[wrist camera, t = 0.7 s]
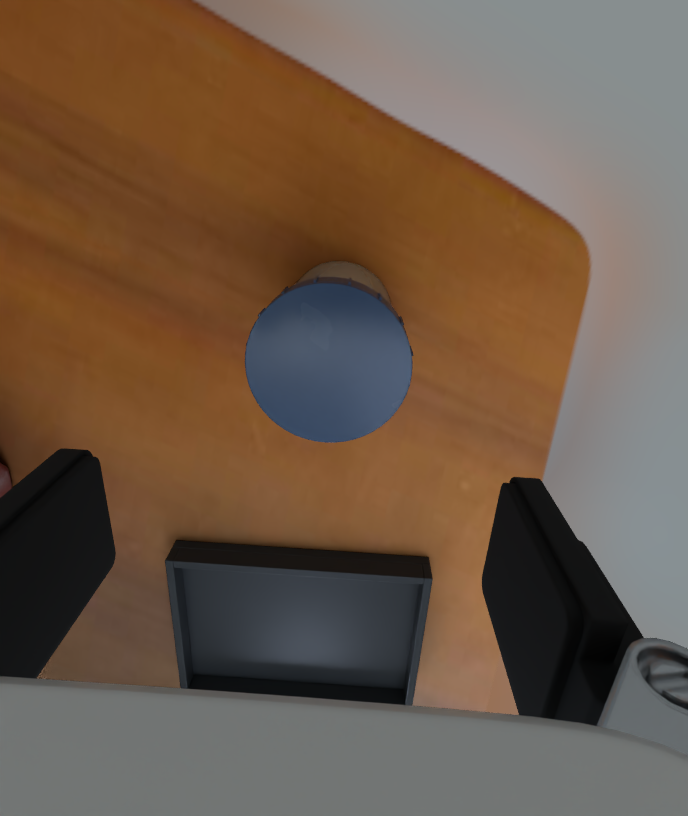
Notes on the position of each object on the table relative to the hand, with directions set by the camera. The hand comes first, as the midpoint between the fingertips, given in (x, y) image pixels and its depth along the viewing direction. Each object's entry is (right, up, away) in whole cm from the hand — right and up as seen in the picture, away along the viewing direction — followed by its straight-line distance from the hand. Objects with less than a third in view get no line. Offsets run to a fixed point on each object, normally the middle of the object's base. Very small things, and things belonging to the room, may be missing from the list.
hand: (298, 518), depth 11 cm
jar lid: (0, +4, +10) cm, 11 cm away
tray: (-2, -15, +28) cm, 32 cm away
